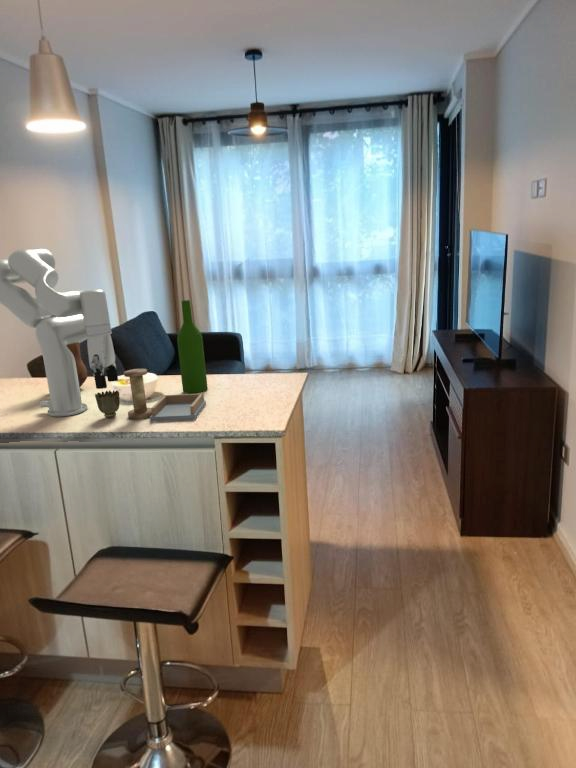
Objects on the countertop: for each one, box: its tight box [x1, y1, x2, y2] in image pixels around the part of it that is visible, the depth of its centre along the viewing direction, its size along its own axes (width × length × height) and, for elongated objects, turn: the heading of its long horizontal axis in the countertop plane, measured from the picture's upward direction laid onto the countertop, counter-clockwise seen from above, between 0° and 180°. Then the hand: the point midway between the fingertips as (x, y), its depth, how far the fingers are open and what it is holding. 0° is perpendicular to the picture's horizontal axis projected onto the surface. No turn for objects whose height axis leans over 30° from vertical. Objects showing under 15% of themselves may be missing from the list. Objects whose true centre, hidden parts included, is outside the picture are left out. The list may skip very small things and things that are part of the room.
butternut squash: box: [66, 342, 88, 389], centre depth 226 cm, size 14×13×25 cm
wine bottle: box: [176, 299, 208, 394], centre depth 211 cm, size 9×9×32 cm
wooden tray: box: [149, 392, 207, 423], centre depth 187 cm, size 14×16×4 cm
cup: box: [94, 389, 121, 419], centre depth 188 cm, size 8×7×8 cm
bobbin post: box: [123, 368, 152, 421], centre depth 186 cm, size 8×8×14 cm
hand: (107, 384), depth 185 cm, fingers open, 9 cm apart
